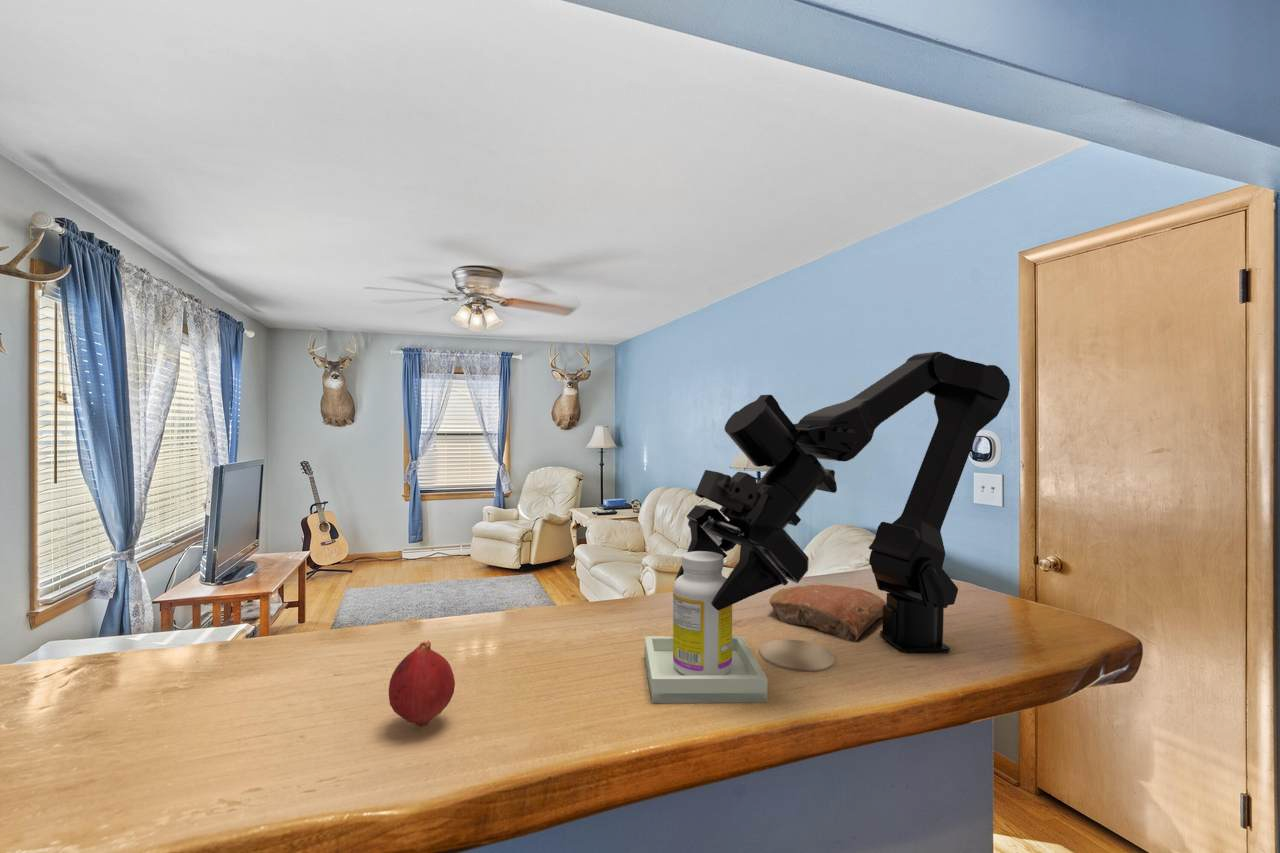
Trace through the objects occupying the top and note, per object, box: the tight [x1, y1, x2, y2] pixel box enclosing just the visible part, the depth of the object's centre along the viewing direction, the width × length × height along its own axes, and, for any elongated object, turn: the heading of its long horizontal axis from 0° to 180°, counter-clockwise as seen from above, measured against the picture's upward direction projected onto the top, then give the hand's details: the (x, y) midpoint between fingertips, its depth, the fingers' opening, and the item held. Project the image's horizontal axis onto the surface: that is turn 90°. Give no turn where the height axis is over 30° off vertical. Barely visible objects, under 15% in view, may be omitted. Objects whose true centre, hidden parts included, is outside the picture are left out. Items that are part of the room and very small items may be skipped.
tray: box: [643, 635, 768, 704], centre depth 68 cm, size 12×12×2 cm
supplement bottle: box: [672, 551, 733, 676], centre depth 68 cm, size 7×7×13 cm
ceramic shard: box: [769, 584, 886, 643], centre depth 90 cm, size 15×6×15 cm
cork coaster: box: [759, 638, 836, 672], centre depth 75 cm, size 9×9×1 cm
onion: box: [388, 640, 456, 727], centre depth 57 cm, size 6×6×8 cm
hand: (694, 595), depth 68 cm, fingers open, 9 cm apart
